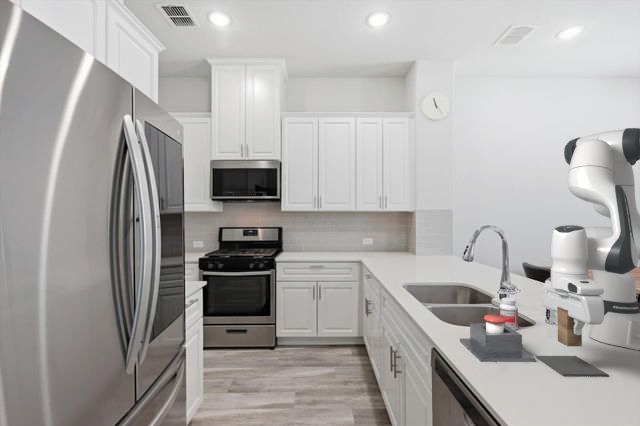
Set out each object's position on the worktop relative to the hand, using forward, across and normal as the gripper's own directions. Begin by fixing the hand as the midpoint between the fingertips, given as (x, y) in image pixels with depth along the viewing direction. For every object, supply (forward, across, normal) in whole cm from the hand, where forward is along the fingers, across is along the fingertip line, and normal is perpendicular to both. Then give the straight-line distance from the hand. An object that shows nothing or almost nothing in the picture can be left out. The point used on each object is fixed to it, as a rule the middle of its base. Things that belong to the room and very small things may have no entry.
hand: (569, 330), depth 99 cm
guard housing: (+10, -11, -16) cm, 22 cm away
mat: (+10, 0, 0) cm, 10 cm away
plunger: (+9, -11, -16) cm, 21 cm away
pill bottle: (+10, -33, 0) cm, 35 cm away
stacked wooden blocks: (+4, 0, 0) cm, 4 cm away
